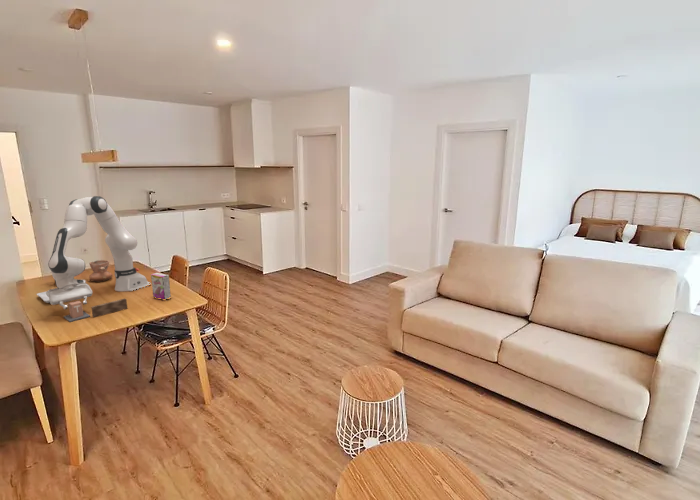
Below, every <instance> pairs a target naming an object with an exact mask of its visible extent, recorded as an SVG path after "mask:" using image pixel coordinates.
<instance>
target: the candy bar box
mask: <svg viewBox="0 0 700 500" xmlns="http://www.w3.org/2000/svg"><path fill="white" fill-rule="evenodd" d="M169 276H170V275H169V274H164V273H159V272H155V273H152V274H150V278H151V280H150V281H151V288H152V297H156V298H161V299H167V298H169V297H171V298H172V295H171V285H170V277H169ZM156 298H155V299H156Z"/></svg>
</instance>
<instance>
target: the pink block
mask: <svg viewBox="0 0 700 500" xmlns="http://www.w3.org/2000/svg"><path fill="white" fill-rule="evenodd" d="M67 306H68V310H69V315H70V316H71V317H72V318H77V317H81V316H84V315H83V311H84V309H83V301H82V302H81V301H80V299H77V300H73V301H69V302H67Z"/></svg>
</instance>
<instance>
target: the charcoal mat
mask: <svg viewBox="0 0 700 500" xmlns="http://www.w3.org/2000/svg"><path fill="white" fill-rule="evenodd" d="M83 315H84V316H81V317H77V318H72V317H71V316H70V314H67V315H63V318H64V320H66V321H67V322H69V323H72V322H75V321H81V320H83V319H87V318H91V315H90V314H88V313H87V312H86V311H84V310H83Z"/></svg>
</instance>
